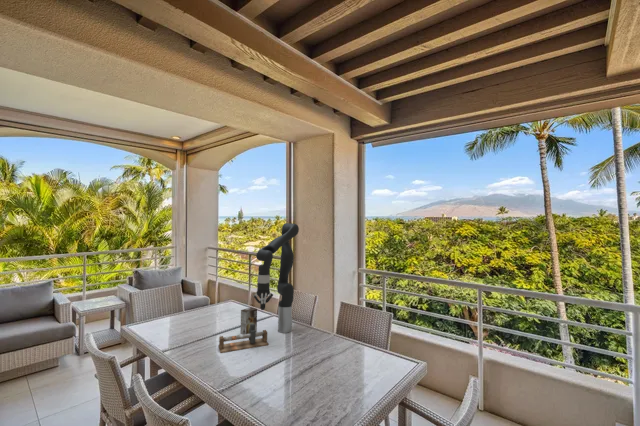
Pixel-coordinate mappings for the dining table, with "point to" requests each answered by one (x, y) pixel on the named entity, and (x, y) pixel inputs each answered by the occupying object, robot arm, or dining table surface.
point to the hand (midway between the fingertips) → (262, 309)
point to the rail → (242, 342)
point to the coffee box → (248, 320)
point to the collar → (252, 333)
